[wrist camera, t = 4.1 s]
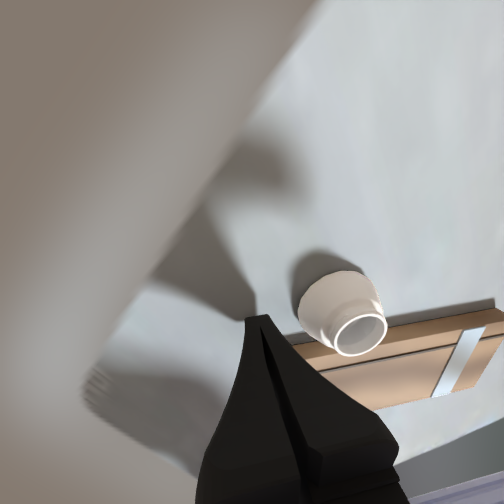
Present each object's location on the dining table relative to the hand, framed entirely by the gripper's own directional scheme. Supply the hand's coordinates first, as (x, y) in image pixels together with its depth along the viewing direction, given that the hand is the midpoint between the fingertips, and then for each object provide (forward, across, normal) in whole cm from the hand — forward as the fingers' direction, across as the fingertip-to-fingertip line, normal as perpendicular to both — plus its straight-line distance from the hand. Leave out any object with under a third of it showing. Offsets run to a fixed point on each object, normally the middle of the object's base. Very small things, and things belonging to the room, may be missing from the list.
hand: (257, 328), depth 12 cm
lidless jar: (+1, -5, 0) cm, 5 cm away
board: (+1, -10, +7) cm, 12 cm away
